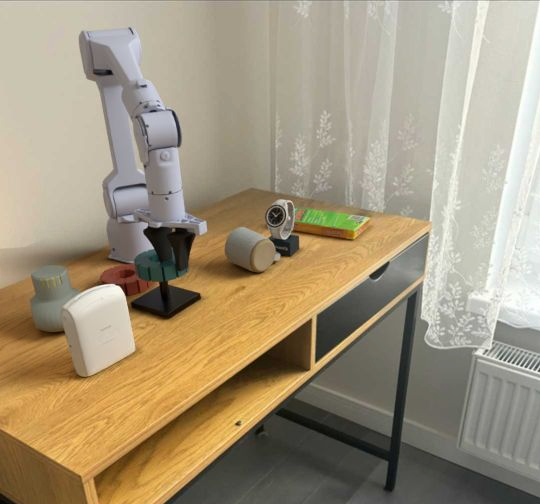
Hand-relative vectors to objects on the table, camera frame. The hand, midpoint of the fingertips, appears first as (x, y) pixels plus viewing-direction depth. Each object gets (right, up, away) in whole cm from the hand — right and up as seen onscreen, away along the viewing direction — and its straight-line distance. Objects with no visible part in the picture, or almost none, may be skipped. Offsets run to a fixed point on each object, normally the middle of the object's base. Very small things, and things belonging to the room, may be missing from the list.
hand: (175, 267), depth 106 cm
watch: (+19, +7, +25) cm, 32 cm away
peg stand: (-2, -6, +6) cm, 9 cm away
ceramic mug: (+14, +3, +19) cm, 24 cm away
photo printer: (-9, -16, -11) cm, 22 cm away
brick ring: (-11, -2, +13) cm, 17 cm away
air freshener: (-20, -10, +1) cm, 22 cm away
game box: (+28, +14, +36) cm, 48 cm away
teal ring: (-3, 0, +2) cm, 3 cm away
